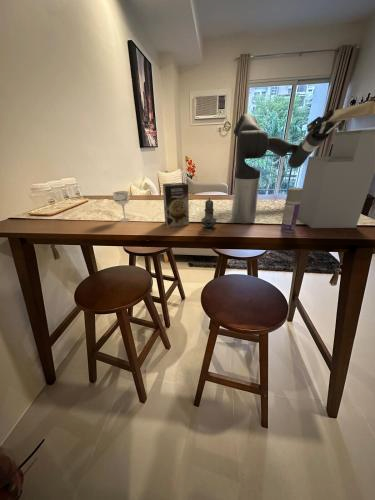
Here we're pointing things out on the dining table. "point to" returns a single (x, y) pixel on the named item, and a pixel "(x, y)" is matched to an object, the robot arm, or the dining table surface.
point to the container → (291, 209)
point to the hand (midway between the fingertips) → (339, 110)
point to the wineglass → (122, 201)
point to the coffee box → (176, 204)
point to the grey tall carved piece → (209, 217)
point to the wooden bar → (354, 111)
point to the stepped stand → (339, 181)
